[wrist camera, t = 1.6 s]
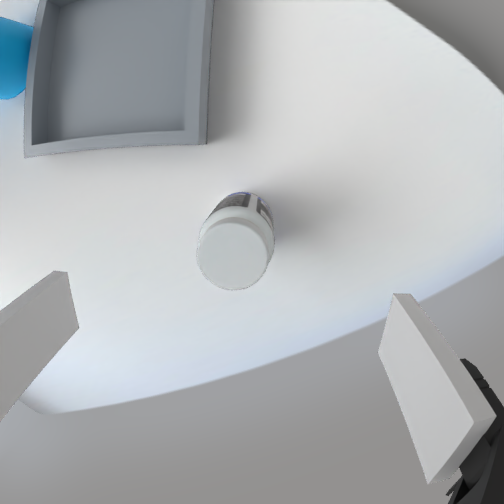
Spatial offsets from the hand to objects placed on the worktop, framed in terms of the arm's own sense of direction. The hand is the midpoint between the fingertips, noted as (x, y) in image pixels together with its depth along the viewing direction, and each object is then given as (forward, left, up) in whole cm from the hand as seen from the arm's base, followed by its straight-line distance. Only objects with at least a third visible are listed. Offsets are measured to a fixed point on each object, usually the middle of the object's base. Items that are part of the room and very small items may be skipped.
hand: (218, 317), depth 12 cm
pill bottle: (0, 0, -15) cm, 15 cm away
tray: (-11, +14, -14) cm, 23 cm away
